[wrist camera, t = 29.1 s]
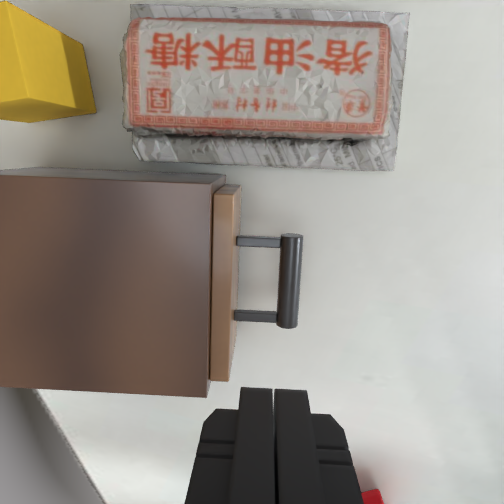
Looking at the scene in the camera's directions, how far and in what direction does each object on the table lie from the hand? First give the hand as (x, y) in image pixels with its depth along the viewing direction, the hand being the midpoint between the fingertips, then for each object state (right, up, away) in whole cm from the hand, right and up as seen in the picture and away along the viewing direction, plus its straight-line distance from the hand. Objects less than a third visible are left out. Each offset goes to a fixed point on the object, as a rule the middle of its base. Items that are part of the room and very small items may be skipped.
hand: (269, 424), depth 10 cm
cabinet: (-9, +4, +23) cm, 25 cm away
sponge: (-14, +16, +20) cm, 29 cm away
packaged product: (+1, +15, +20) cm, 25 cm away
